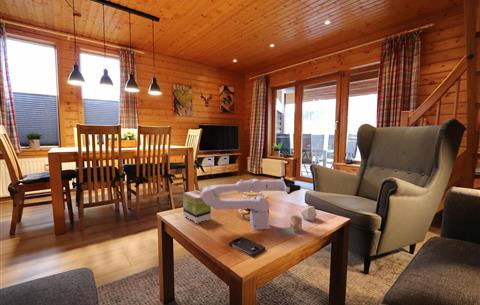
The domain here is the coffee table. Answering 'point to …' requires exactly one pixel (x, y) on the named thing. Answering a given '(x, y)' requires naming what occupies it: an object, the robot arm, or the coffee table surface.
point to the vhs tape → (247, 246)
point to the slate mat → (288, 232)
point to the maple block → (296, 223)
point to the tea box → (195, 206)
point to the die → (309, 213)
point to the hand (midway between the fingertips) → (297, 185)
